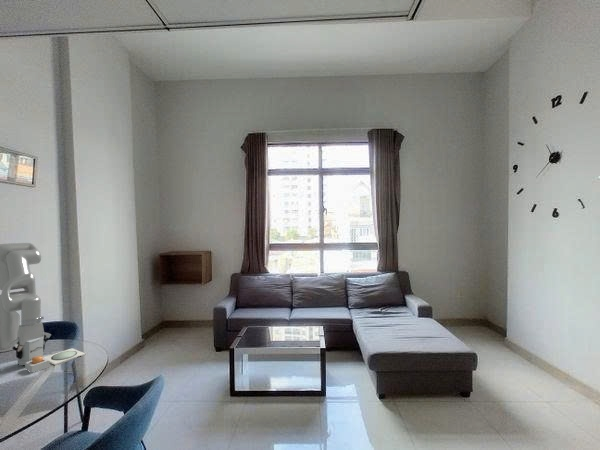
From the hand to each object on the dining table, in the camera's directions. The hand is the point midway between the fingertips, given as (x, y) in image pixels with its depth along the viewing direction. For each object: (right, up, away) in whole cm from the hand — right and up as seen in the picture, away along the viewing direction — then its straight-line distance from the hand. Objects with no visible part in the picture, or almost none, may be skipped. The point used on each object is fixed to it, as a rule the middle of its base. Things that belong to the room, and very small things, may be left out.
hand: (30, 354), depth 157 cm
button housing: (+8, -5, -6) cm, 11 cm away
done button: (+8, -2, -6) cm, 10 cm away
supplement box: (0, -5, 0) cm, 5 cm away
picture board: (+12, -4, +7) cm, 15 cm away
